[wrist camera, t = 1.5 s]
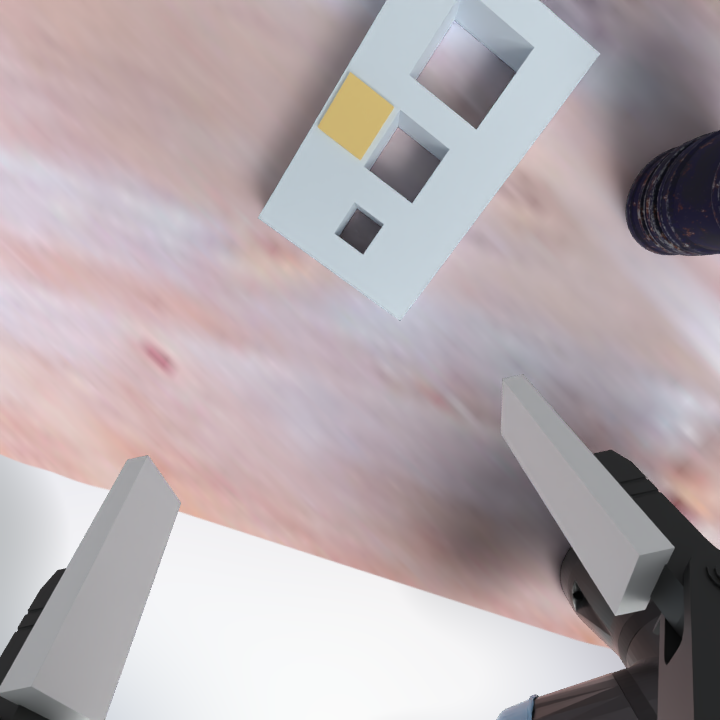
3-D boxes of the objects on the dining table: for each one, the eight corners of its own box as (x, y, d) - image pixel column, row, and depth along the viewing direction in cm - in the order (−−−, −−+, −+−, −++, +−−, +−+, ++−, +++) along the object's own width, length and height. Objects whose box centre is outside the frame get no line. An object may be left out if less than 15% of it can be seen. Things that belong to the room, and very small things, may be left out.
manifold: (574, 78, 33) (602, 51, 29) (398, 315, 39) (400, 321, 35) (431, -45, 31) (439, -92, 27) (270, 222, 37) (256, 217, 33)
